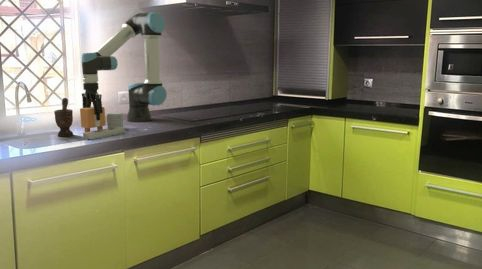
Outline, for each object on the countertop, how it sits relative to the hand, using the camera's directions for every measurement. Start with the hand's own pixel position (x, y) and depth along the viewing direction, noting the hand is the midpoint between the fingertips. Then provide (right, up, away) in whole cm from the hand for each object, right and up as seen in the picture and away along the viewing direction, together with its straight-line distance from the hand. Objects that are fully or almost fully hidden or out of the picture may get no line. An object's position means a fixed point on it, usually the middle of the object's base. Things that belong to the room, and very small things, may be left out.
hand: (93, 125), depth 236 cm
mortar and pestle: (-10, -6, -10) cm, 16 cm away
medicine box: (+9, -2, +10) cm, 14 cm away
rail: (+9, -5, -10) cm, 15 cm away
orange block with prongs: (0, -3, +1) cm, 3 cm away
